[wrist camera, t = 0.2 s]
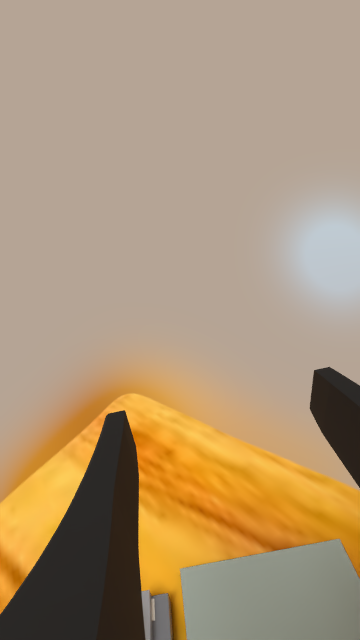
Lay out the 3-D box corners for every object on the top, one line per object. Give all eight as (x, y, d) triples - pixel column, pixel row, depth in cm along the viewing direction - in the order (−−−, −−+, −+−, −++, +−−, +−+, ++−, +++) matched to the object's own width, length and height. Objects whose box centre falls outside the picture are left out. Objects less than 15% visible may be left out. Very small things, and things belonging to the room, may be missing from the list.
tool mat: (392, 652, 21) (394, 648, 21) (192, 692, 20) (191, 689, 20) (338, 542, 27) (339, 538, 26) (181, 572, 26) (180, 568, 26)
